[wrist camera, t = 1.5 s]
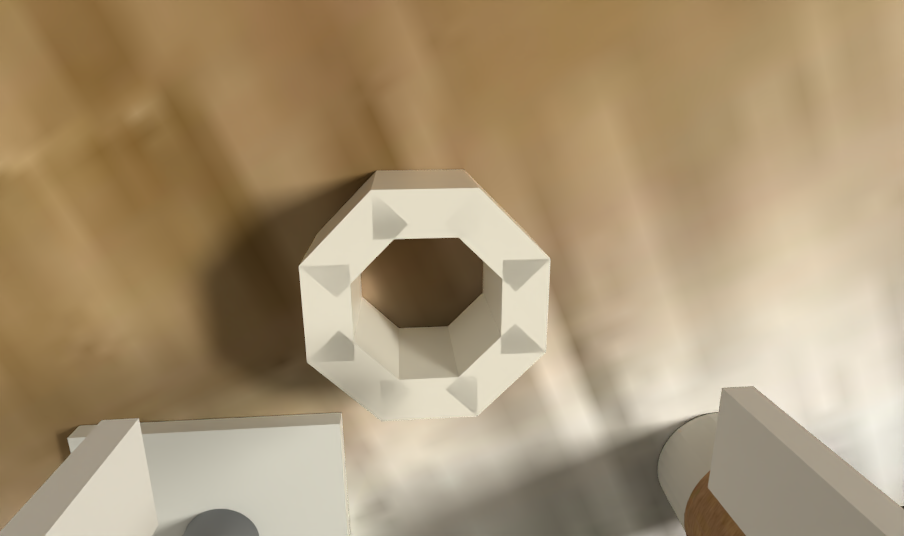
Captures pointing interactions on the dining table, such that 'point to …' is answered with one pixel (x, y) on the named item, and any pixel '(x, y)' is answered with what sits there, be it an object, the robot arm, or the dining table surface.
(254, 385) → the dining table surface
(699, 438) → the coffee cup
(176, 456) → the white square plate
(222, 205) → the dining table surface
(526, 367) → the collar
